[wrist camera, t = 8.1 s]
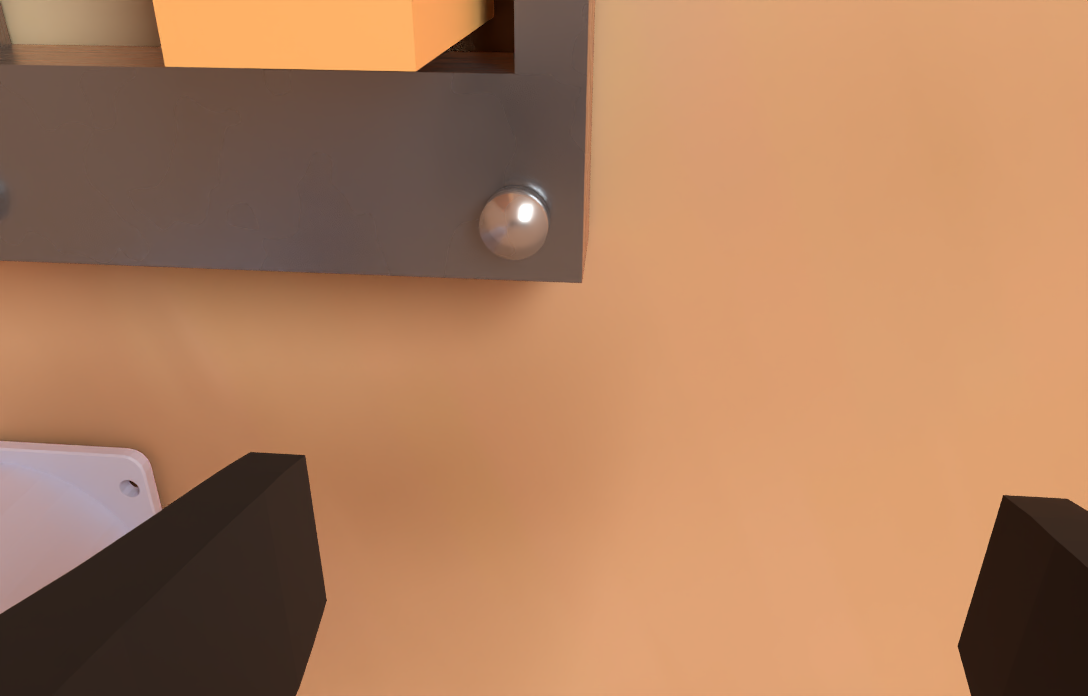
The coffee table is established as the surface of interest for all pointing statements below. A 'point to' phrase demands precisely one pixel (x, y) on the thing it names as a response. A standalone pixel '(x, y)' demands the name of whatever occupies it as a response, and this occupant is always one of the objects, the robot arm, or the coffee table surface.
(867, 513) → the coffee table surface
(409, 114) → the grey mounting plate
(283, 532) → the robot arm
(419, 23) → the orange rectangular block
